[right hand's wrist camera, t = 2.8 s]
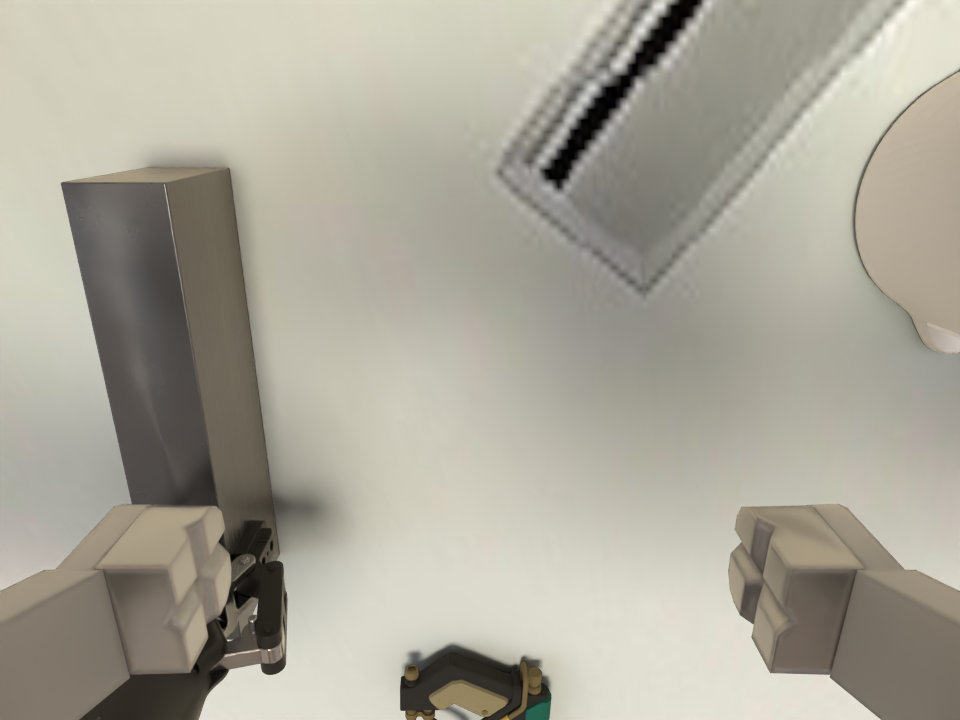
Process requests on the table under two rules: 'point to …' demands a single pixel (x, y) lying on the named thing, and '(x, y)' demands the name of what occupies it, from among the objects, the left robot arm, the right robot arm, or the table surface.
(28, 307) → the table surface
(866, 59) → the table surface
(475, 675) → the spray gun
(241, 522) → the bar
